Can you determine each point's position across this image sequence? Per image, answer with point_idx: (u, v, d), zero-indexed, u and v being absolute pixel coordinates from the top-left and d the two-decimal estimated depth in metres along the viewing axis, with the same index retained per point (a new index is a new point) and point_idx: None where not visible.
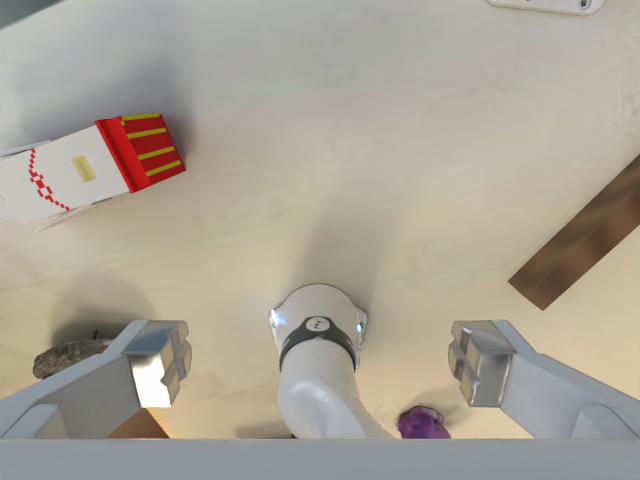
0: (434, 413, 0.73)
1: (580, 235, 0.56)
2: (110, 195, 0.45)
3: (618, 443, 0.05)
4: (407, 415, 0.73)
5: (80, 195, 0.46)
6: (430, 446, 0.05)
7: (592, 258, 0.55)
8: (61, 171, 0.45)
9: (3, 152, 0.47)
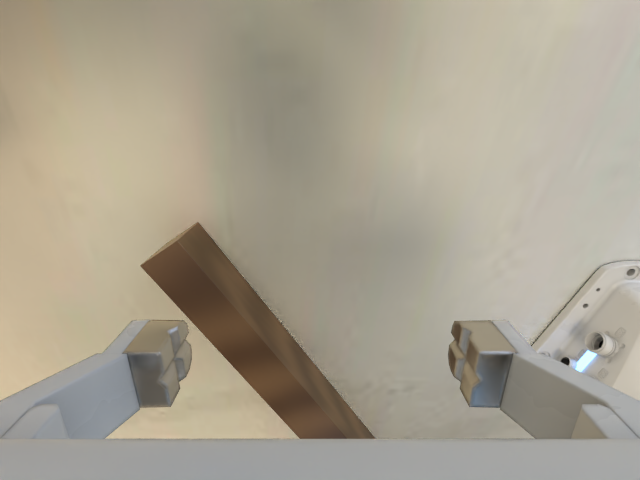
0: None
1: (263, 330, 0.37)
2: None
3: (618, 443, 0.05)
4: None
5: None
6: (430, 446, 0.05)
7: (224, 342, 0.36)
8: None
9: None
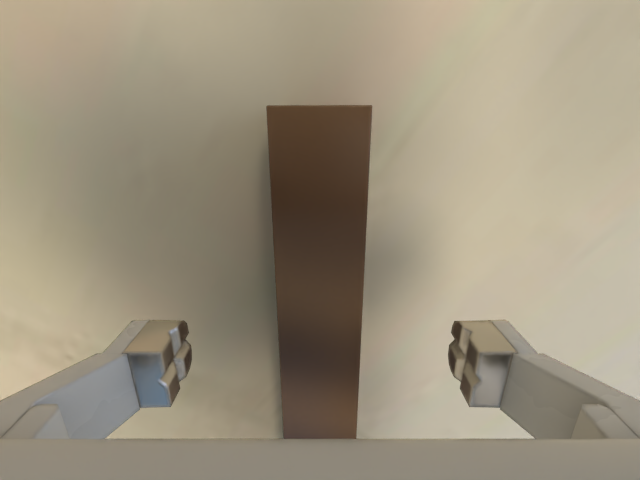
0: None
1: None
2: None
3: (618, 443, 0.05)
4: None
5: None
6: (430, 446, 0.05)
7: (298, 322, 0.19)
8: None
9: None
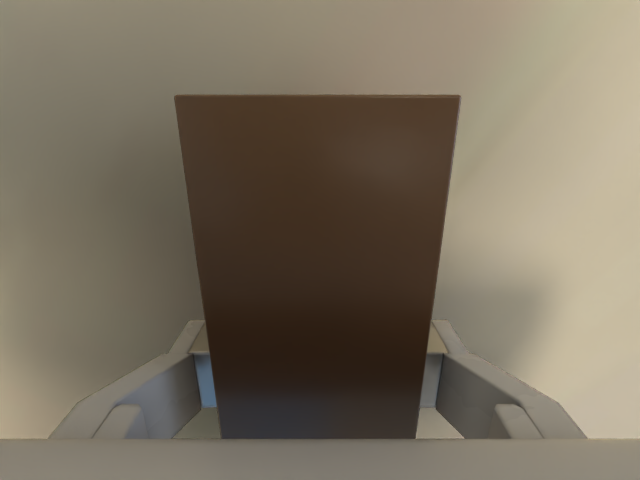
0: None
1: None
2: None
3: (618, 443, 0.05)
4: None
5: None
6: (430, 446, 0.05)
7: None
8: None
9: None
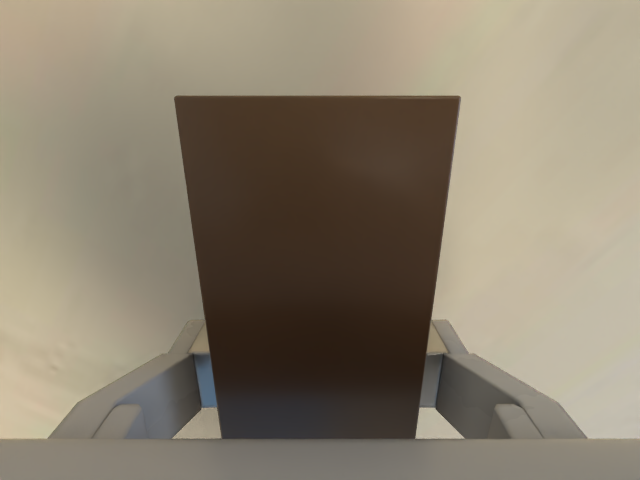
0: None
1: None
2: None
3: (618, 443, 0.05)
4: None
5: None
6: (430, 446, 0.05)
7: None
8: None
9: None
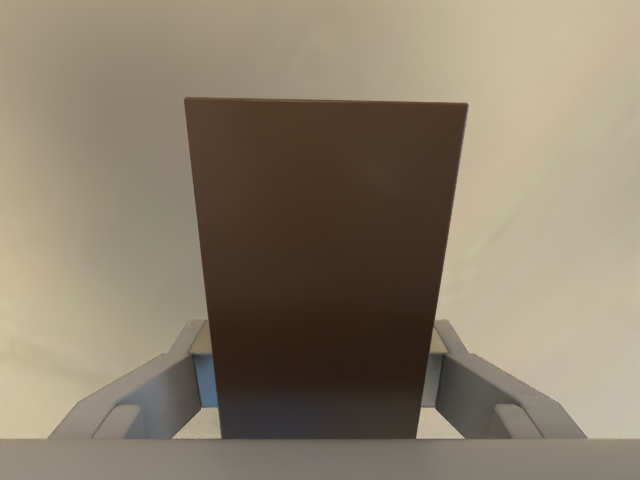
0: None
1: None
2: None
3: (618, 443, 0.05)
4: None
5: None
6: (430, 446, 0.05)
7: None
8: None
9: None
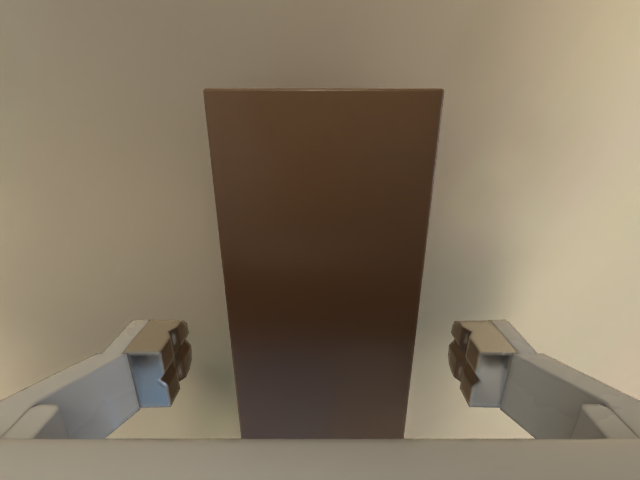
0: None
1: None
2: None
3: (618, 443, 0.05)
4: None
5: None
6: (430, 446, 0.05)
7: None
8: None
9: None
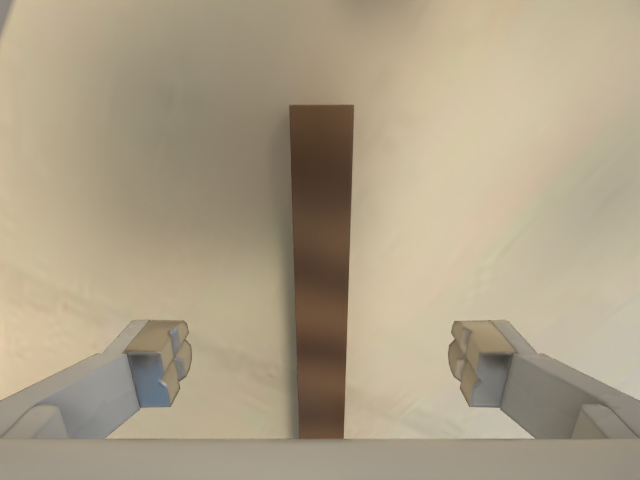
0: None
1: None
2: None
3: (618, 443, 0.05)
4: None
5: None
6: (430, 446, 0.05)
7: (307, 249, 0.29)
8: None
9: None
